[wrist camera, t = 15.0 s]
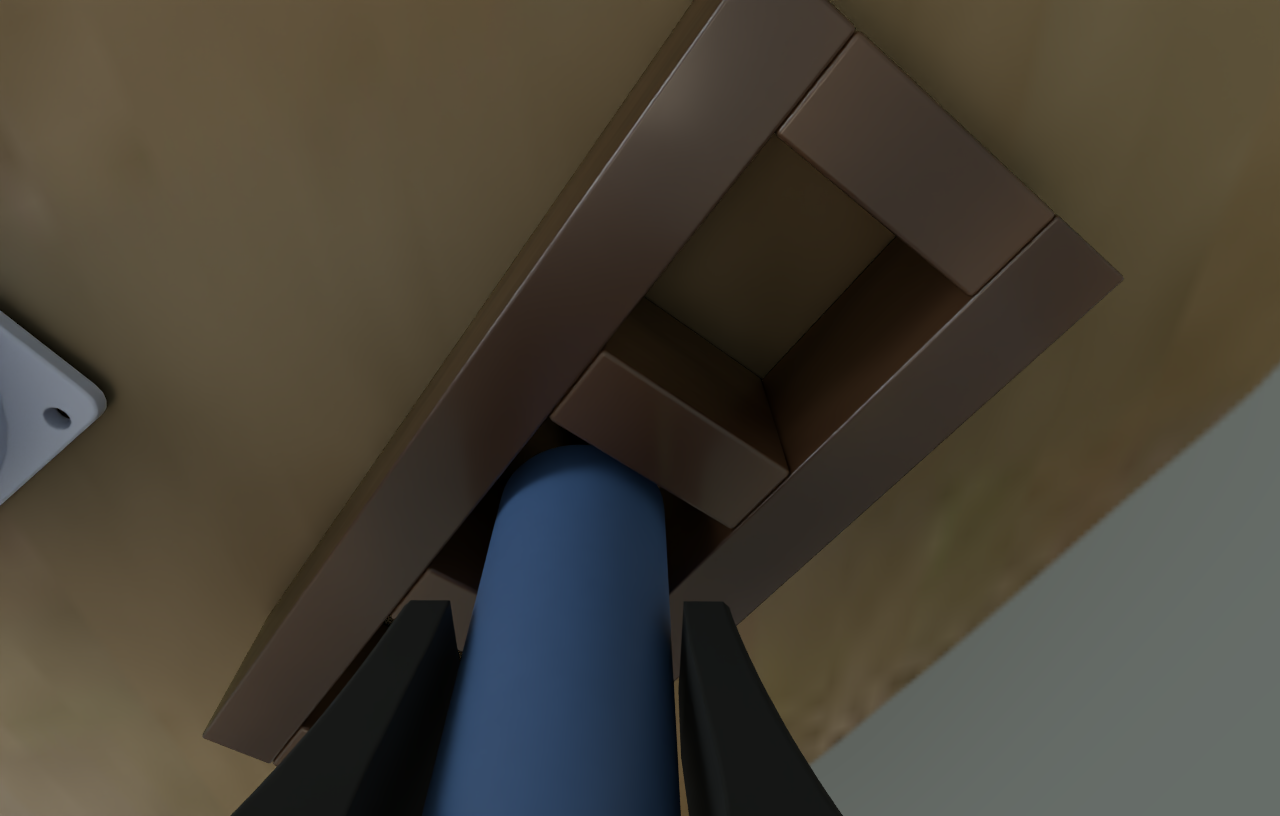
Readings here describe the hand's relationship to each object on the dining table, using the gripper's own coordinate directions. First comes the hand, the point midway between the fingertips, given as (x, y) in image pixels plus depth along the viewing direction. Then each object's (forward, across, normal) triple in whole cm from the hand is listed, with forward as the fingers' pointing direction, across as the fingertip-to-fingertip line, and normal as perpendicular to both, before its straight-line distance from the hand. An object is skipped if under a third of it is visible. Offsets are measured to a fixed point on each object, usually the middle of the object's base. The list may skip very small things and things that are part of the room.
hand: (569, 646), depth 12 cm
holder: (+6, 0, 0) cm, 6 cm away
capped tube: (+3, 0, 0) cm, 3 cm away
